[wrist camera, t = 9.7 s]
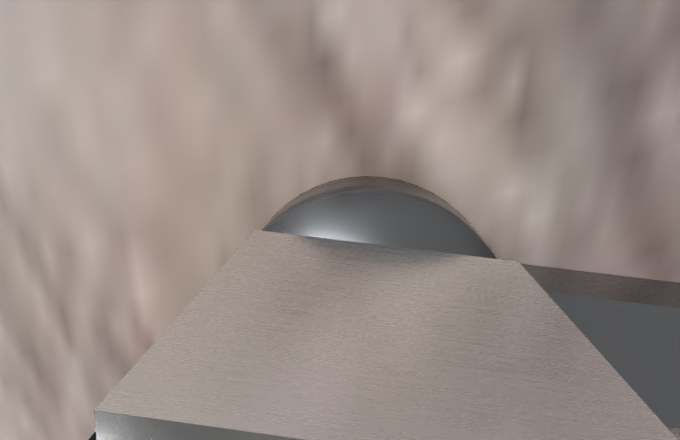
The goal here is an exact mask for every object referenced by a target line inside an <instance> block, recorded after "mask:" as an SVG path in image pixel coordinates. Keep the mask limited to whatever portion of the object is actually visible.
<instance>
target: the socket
mask: <svg viewBox="0 0 680 440" xmlns="http://www.w3.org/2000/svg"><path fill="white" fill-rule="evenodd" d="M94 412H95V427H96V440H678V439H677V438H676V437H675V436H674V435H673V434H672V433H671V432H670V430H669V429H668V428H667V427H666V426H665V425H664V424H663V423H662V421H661V420H660V419H659V418H658V417H657V416H656V415H655V414H654V413H653V411H652V410H651V409H650V408H649V407H648V406H647V405H646V404H645V402H644V401H643V400H642V399H641V398H640V397H639V396H638V395H637V394H636V392H635V391H634V390H633V389H632V388H631V387H630V386H629V385H628V383H627V382H626V381H625V380H624V379H623V378H622V377H621V376H620V375H619V373H618V372H617V371H616V370H615V369H614V368H613V367H612V366H611V365H610V363H609V362H608V361H607V360H606V359H605V358H604V357H603V356H602V354H601V353H600V352H599V351H598V350H597V349H596V348H595V347H594V346H593V344H592V343H591V342H590V341H589V340H588V339H587V338H586V337H585V335H584V334H583V333H582V332H581V331H580V330H579V329H578V328H577V327H576V325H575V324H574V323H573V322H572V321H571V320H570V319H569V318H568V316H567V315H566V314H565V313H564V312H563V311H562V310H561V309H560V308H559V306H558V305H557V304H556V303H555V302H554V301H553V300H552V299H551V297H550V296H549V295H548V294H547V293H546V292H545V291H544V290H543V289H542V287H541V286H540V285H539V284H538V283H537V282H536V281H535V280H534V278H533V277H532V276H531V275H530V274H529V273H528V272H527V271H526V270H525V268H524V267H523V266H522V265H521V264H520V263H519V262H518V261H510V260H501V259H493V258H485V257H476V256H468V255H460V254H451V253H443V252H435V251H426V250H418V249H410V248H401V247H393V246H385V245H377V244H368V243H360V242H352V241H343V240H335V239H327V238H318V237H310V236H302V235H293V234H285V233H277V232H268V231H260V230H254V232H253V233H252V234H251V235H250V236H249V237H248V238H247V239H246V241H245V242H244V243H243V244H242V245H241V246H240V247H239V248H238V249H237V251H236V252H235V253H234V254H233V255H232V256H231V257H230V258H229V260H228V261H227V262H226V263H225V264H224V265H223V266H222V267H221V269H220V270H219V271H218V272H217V273H216V274H215V275H214V276H213V278H212V279H211V280H210V281H209V282H208V283H207V284H206V285H205V287H204V288H203V289H202V290H201V291H200V292H199V293H198V294H197V296H196V297H195V298H194V299H193V300H192V301H191V302H190V303H189V305H188V306H187V307H186V308H185V309H184V310H183V311H182V312H181V313H180V315H179V316H178V317H177V318H176V319H175V320H174V321H173V322H172V324H171V325H170V326H169V327H168V328H167V329H166V330H165V331H164V333H163V334H162V335H161V336H160V337H159V338H158V339H157V340H156V342H155V343H154V344H153V345H152V346H151V347H150V348H149V349H148V351H147V352H146V353H145V354H144V355H143V356H142V357H141V358H140V360H139V361H138V362H137V363H136V364H135V365H134V366H133V367H132V369H131V370H130V371H129V372H128V373H127V374H126V375H125V376H124V377H123V379H122V380H121V381H120V382H119V383H118V384H117V385H116V386H115V388H114V389H113V390H112V391H111V392H110V393H109V394H108V395H107V397H106V398H105V399H104V400H103V401H102V402H101V403H100V404H99V406H98V407H97V408H96V409H95V410H94Z"/></svg>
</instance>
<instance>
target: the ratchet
mask: <svg viewBox="0 0 680 440" xmlns="http://www.w3.org/2000/svg"><path fill="white" fill-rule="evenodd" d="M262 231H268V232H277V233H285V234H293V235H302V236H310V237H318V238H327V239H335V240H343V241H352V242H360V243H368V244H377V245H385V246H393V247H401V248H410V249H418V250H426V251H435V252H443V253H451V254H460V255H468V256H476V257H485V258H493V259H496V257H495V256H494V254H493V253H492V252H491V251H490V249H489V248H488V247H487V245H486V244H485V243H484V242H483V240H482V239H481V238H480V237H479V235H478V234H477V233H476V231H475V230H474V229H473V228H472V226H471V225H470V224H469V223H468V222H467V221H466V219H465V218H464V217H463V216H462V215H461V214H460V213H459V212H458V211H457V210H456V209H454V208H453V207H452V206H451V205H450V204H449V203H447V202H446V201H444V200H443V199H441V198H440V197H438V196H437V195H435V194H434V193H432V192H430V191H428V190H425V189H423V188H421V187H419V186H417V185H414V184H411V183H407V182H404V181H401V180H396V179H391V178H385V177H371V176H362V177H350V178H344V179H339V180H335V181H330V182H328V183H325V184H322V185H319V186H316V187H314V188H312V189H310V190H308V191H306V192H304V193H302V194H300V195H299V196H297V197H296V198H295V199H293V200H292V201H290V202H289V203H287V204H286V205H285V206H284V207H283V208H282V209H281V210H280V211H279V212H277V213H276V214H275V215H274V216H273V218H272V219H271V220H270V221H269V223H268V224H267V225H266V226H265V227H264V229H263V230H262ZM521 265H522V266H523V267H524V268H525V270H526V271H527V272H528V273H529V274H530V275H531V276H532V277H533V278H534V280H535V281H536V282H537V283H538V284H539V285H540V286H541V287H542V289H543V290H544V291H545V292H546V293H547V294H548V295H549V296H550V297H551V299H552V300H553V301H554V302H555V303H556V304H557V305H558V306H559V308H560V309H561V310H562V311H563V312H564V313H565V314H566V315H567V316H568V318H569V319H570V320H571V321H572V322H573V323H574V324H575V325H576V327H577V328H578V329H579V330H580V331H581V332H582V333H583V334H584V335H585V337H586V338H587V339H588V340H589V341H590V342H591V343H592V344H593V346H594V347H595V348H596V349H597V350H598V351H599V352H600V353H601V354H602V356H603V357H604V358H605V359H606V360H607V361H608V362H609V363H610V365H611V366H612V367H613V368H614V369H615V370H616V371H617V372H618V373H619V375H620V376H621V377H622V378H623V379H624V380H625V381H626V382H627V383H628V385H629V386H630V387H631V388H632V389H633V390H634V391H635V392H636V394H637V395H638V396H639V397H640V398H641V399H642V400H643V401H644V402H645V404H646V405H647V406H648V407H649V408H650V409H651V410H652V411H653V413H654V414H655V415H656V416H657V417H658V418H659V419H660V420H661V421H662V423H663V424H664V425H665V426H668V427H676V428H680V283H674V282H666V281H658V280H649V279H641V278H633V277H624V276H616V275H608V274H599V273H591V272H583V271H574V270H566V269H558V268H549V267H541V266H532V265H524V264H521Z"/></svg>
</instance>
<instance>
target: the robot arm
mask: <svg viewBox="0 0 680 440" xmlns="http://www.w3.org/2000/svg"><path fill="white" fill-rule="evenodd" d="M89 440H96V432H95V433H94V434H93V435H92V436H91V438H90V439H89Z"/></svg>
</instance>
